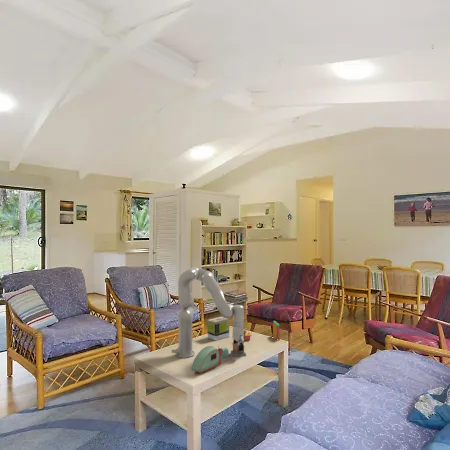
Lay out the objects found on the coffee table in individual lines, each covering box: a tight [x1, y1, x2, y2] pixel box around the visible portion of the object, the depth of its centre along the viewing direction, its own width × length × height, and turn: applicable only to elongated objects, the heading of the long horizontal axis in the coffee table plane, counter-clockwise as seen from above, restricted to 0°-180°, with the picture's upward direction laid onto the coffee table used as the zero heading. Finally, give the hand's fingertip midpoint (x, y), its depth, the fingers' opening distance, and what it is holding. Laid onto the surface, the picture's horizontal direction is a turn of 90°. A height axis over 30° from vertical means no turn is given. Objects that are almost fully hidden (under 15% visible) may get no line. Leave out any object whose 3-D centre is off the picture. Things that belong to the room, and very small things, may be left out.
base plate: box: [230, 349, 247, 358], centre depth 234 cm, size 8×8×2 cm
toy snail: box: [191, 345, 224, 375], centre depth 211 cm, size 25×8×14 cm, turn 139°
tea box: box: [206, 316, 230, 341], centre depth 272 cm, size 15×10×15 cm, turn 130°
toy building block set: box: [243, 320, 281, 342], centre depth 266 cm, size 12×35×14 cm, turn 98°
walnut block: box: [232, 342, 245, 354], centre depth 234 cm, size 6×6×5 cm
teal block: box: [221, 347, 229, 358], centre depth 232 cm, size 5×5×5 cm
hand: (238, 348), depth 234 cm, fingers open, 9 cm apart
